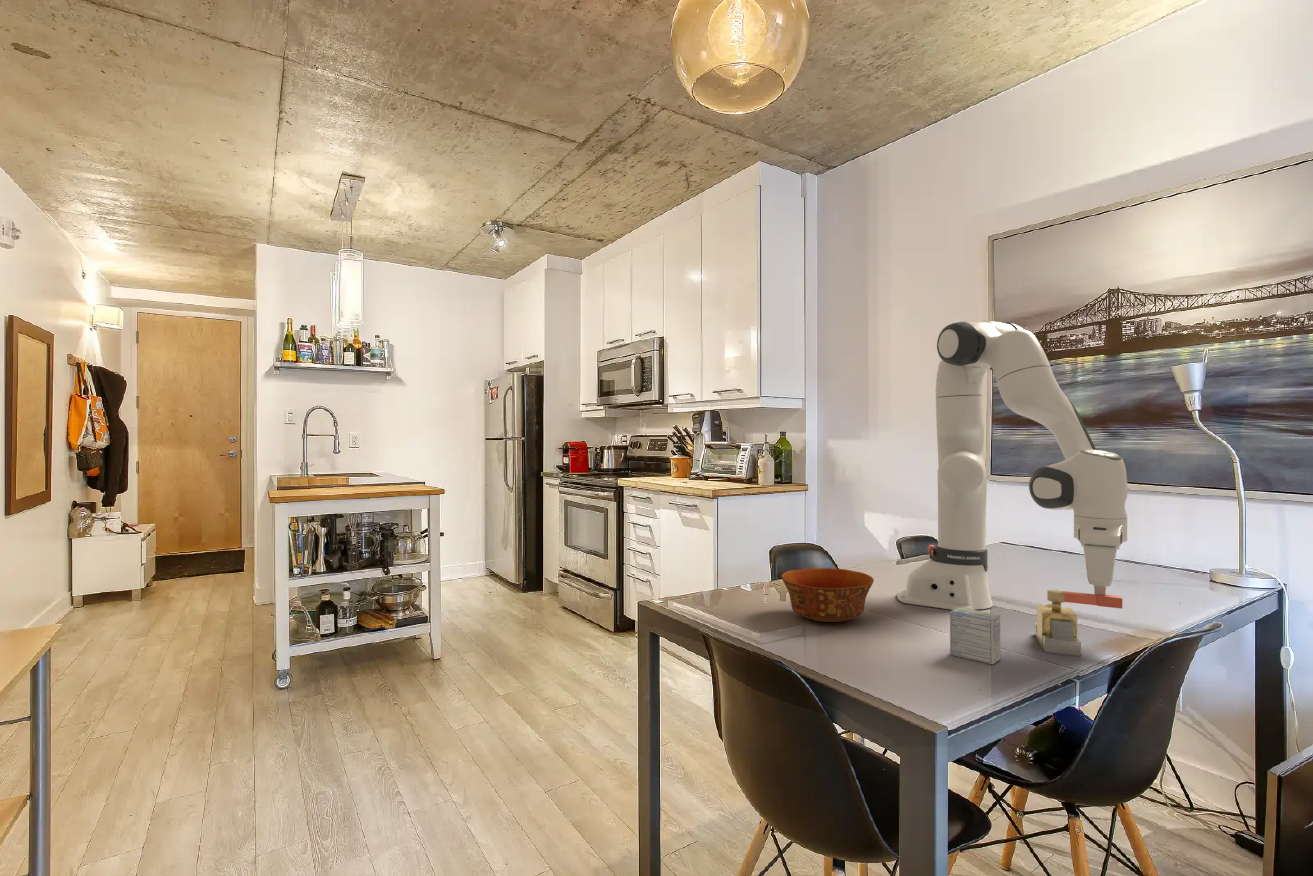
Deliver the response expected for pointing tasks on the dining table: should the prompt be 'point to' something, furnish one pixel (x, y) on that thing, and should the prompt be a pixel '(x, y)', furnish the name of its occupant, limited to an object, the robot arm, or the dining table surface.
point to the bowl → (827, 593)
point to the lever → (1085, 598)
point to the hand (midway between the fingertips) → (1099, 599)
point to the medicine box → (975, 635)
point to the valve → (1057, 629)
